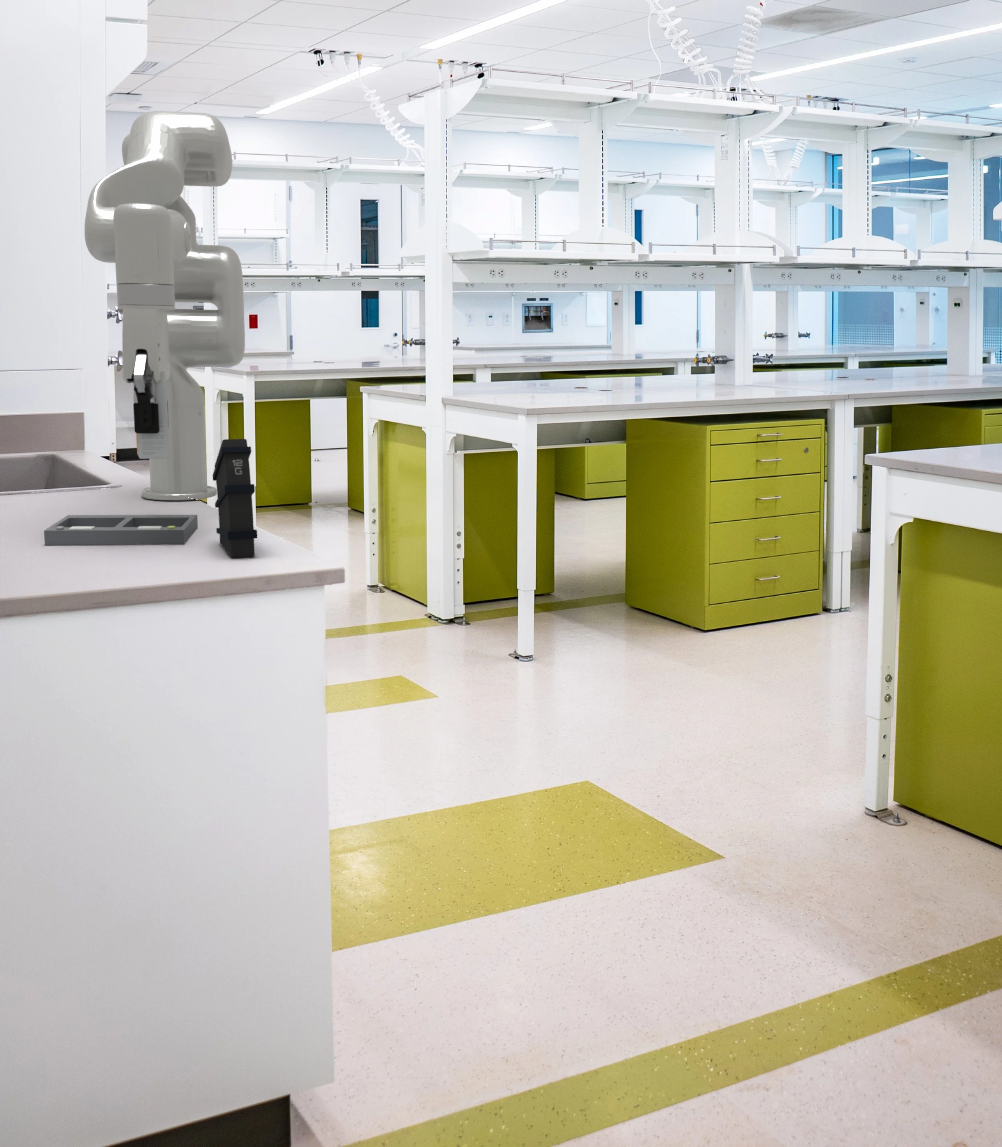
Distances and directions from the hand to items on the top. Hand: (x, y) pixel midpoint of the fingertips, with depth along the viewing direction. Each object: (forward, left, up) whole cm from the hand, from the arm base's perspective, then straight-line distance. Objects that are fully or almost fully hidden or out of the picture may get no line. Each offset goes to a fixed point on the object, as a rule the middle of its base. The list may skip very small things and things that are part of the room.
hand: (152, 429), depth 165 cm
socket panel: (0, -5, -15) cm, 16 cm away
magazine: (+10, +12, -15) cm, 22 cm away
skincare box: (0, 0, -4) cm, 4 cm away
